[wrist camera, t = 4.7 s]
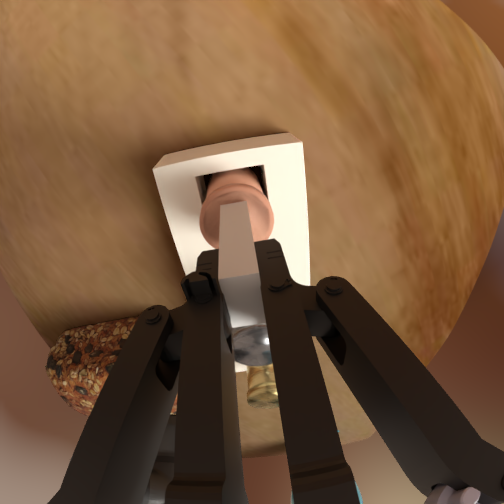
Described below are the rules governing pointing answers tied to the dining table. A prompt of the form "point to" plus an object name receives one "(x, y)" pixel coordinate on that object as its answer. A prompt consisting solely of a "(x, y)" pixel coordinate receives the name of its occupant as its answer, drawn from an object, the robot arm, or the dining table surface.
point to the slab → (274, 188)
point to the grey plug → (252, 345)
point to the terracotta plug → (231, 191)
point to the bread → (87, 361)
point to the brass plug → (262, 387)
